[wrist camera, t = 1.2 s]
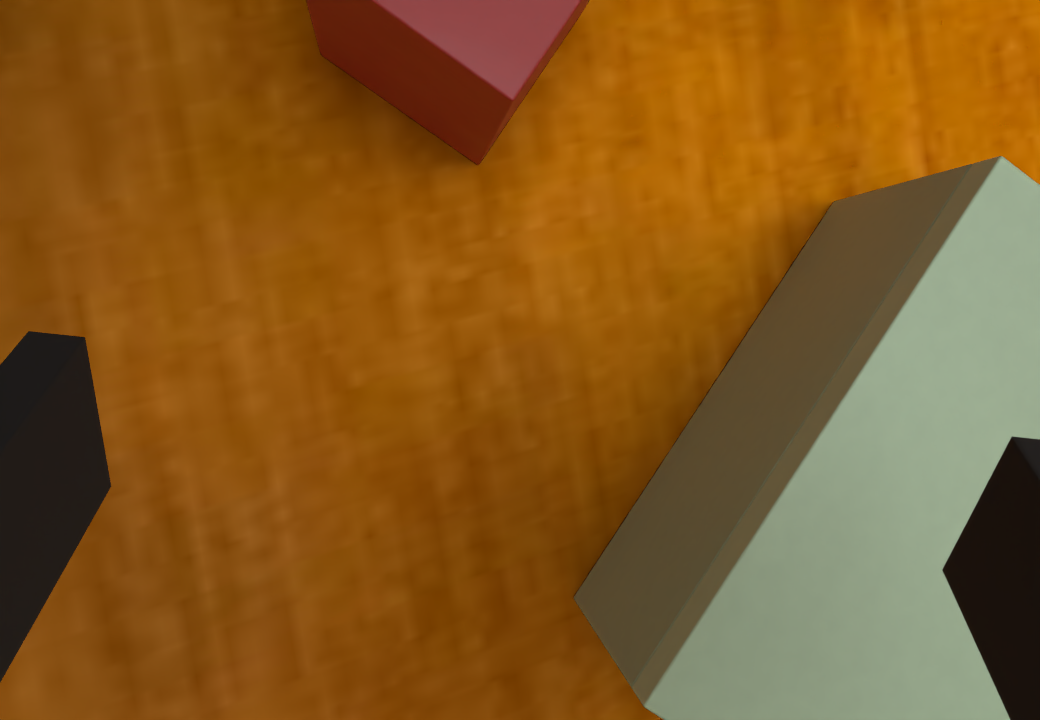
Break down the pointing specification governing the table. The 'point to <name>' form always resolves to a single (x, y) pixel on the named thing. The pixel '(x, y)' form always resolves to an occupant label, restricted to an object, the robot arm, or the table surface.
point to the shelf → (752, 413)
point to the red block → (446, 57)
